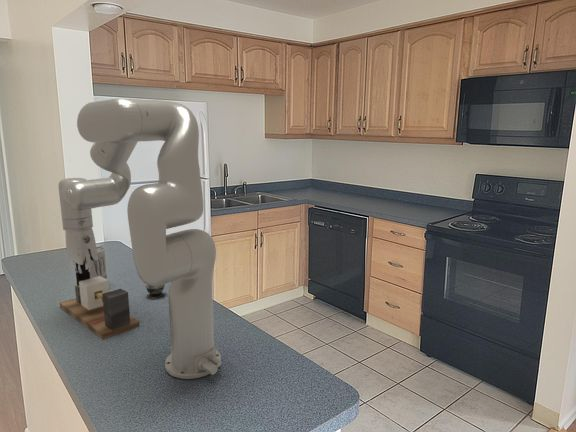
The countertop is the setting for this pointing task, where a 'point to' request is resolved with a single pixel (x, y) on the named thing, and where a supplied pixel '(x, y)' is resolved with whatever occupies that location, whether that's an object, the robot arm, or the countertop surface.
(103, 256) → the energy drink can
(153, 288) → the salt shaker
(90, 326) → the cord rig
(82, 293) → the cream matte cube
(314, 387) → the countertop surface
